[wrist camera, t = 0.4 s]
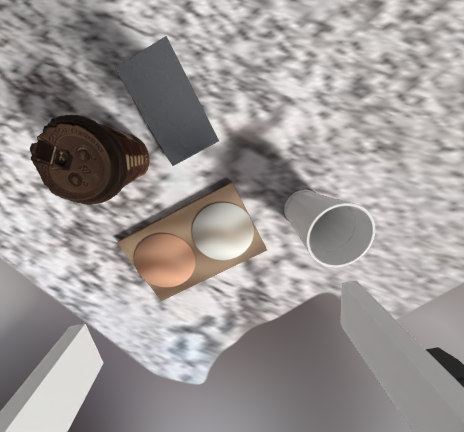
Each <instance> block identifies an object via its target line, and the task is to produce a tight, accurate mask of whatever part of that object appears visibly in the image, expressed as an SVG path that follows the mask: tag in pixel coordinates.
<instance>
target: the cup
mask: <svg viewBox="0 0 464 432" xmlns="http://www.w3.org/2000/svg"><path fill="white" fill-rule="evenodd" d="M284 213H285V216H286V218H287V220H288V221H289V222H290V223H291V225H292V226H293V228H294V230H295V231H296V233H297V234H298V236H299V237H300V239H301V240H302V242H303V244H304V245H305V247H306V248H307V250H308V252H309V253H310V255H311V256H312V258H313V259H314V260H315V261H317V262H318V263H320V264H322V265H324V266H328V267H342V266H346V265H349V264H351V263H353V262H355V261H357V260H358V259H360V258H361V257H362V256H363V255H364V254H365V253H366V252H367V251H368V249H369V248H370V246H371V244H372V242H373V239H374V236H375V223H374V220H373V218H372V216H371V214H370V213H369V212H368V211H367V210H366V209H365V208H363V207H362V206H360V205H357V204H354V203H350V202H346V201H343V200H339V199H333V198H330V197H327V196H324V195H320V194H317V193H315V192H313V191H311V190H299V191H297V192H295V193H293V194H292V195H291V196H290V197H289V198H288V199H287V201H286V203H285V207H284Z"/></svg>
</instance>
